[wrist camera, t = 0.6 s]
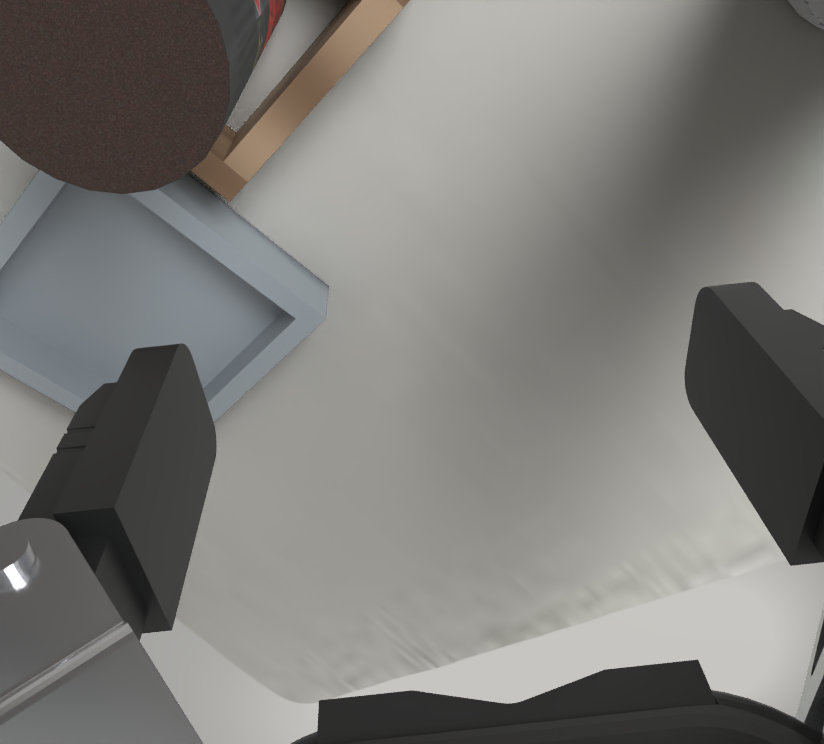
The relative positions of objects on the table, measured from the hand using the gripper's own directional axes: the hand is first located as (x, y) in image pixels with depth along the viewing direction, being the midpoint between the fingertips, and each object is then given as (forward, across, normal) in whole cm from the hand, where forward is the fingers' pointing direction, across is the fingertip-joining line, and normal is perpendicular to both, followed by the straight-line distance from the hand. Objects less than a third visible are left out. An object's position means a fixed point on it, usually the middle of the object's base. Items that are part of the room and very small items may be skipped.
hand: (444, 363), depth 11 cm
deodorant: (+23, +6, -4) cm, 24 cm away
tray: (+23, +14, +9) cm, 28 cm away
